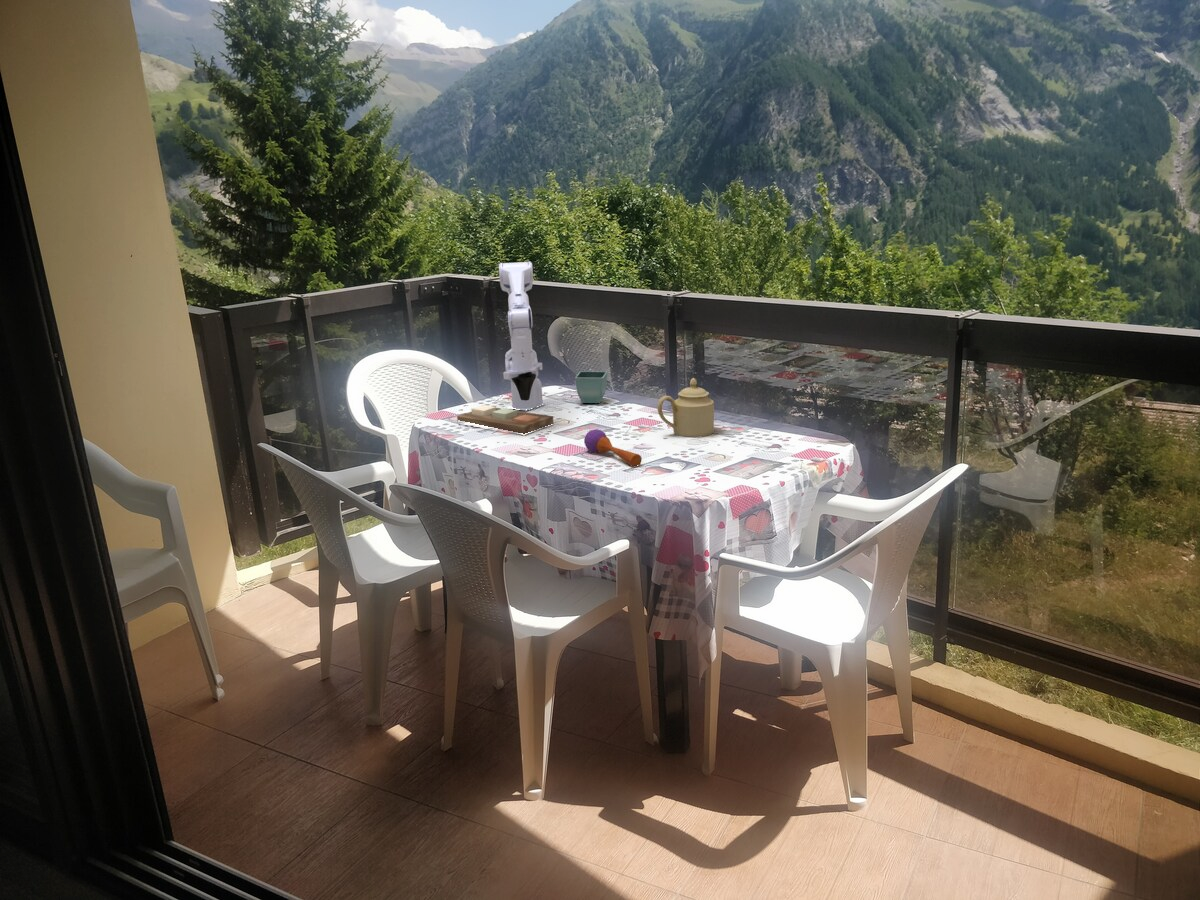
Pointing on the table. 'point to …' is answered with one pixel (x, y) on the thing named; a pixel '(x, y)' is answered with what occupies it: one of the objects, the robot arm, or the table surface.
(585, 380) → the flower pot
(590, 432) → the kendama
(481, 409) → the cream button
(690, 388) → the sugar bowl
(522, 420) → the terracotta button
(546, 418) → the button panel
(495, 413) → the sage button
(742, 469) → the table surface
